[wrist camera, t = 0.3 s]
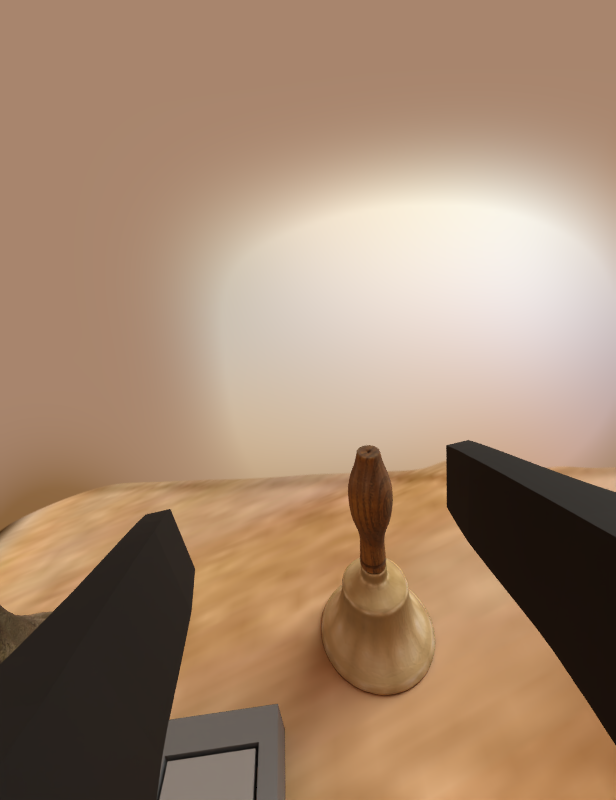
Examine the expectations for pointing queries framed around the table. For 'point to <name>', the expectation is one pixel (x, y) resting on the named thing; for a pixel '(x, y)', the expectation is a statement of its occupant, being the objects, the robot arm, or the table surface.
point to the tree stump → (16, 629)
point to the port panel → (224, 756)
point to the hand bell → (376, 598)
